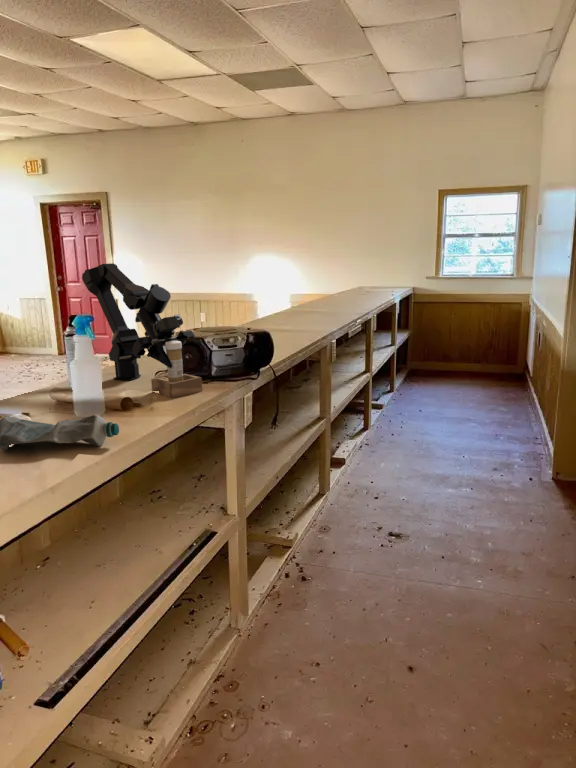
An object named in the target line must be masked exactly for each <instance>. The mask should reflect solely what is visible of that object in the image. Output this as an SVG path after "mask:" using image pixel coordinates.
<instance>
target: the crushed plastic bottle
mask: <svg viewBox="0 0 576 768" xmlns="http://www.w3.org/2000/svg"><path fill="white" fill-rule="evenodd" d="M119 433H120V426H119V424H118V423H116V422H115V423H114V422H112V421H110V422H106V421H105V418H103V417H102V416H100V415H98V414H92V415H89V416H85V417H83V418H81V419H78V420H77V419H76V420H74V419H65V420H60V421H59V420H58V422H56V424H53V423H45V422H39V421H34V420H27V419H22V418H19V417H17V416H11V415H9V416H4V417H2V418H1V419H0V450H2V451H3V450H8V448H9V445H11V444H15V445H17V444H29V443H30V444H31V443H35V442H36V443H37V442H39V443H40V442H47V443H48V442H49V443H53V444H55V443H57V444H74V443H76V442H80V441H82V442H85V443H87V444H88V445H89V444H90V445H93V446H95V447H101V446H102V445H104V443H105V441H106V438H113V437H114V436H118V435H119ZM9 449H10V448H9Z"/></svg>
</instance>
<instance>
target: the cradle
mask: <svg viewBox="0 0 576 768" xmlns="http://www.w3.org/2000/svg"><path fill="white" fill-rule="evenodd" d="M202 381H203V378H202V377H201V376H197V375H192V374H188V373H184V374H183V381H178V382H174V383H172V382H168V380H167V381H166V380H163V379H160V378H157V377H156V378H155V377H153V378H151V381H150V382H151V392H152V391H159V393H160V394H159V395H160V396H164V397H169V398H170V399H175V398H179V397H183V396H186V395H191V394H196V393H198V392H199V393H200V392H202V391H203V382H202Z"/></svg>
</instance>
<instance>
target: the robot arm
mask: <svg viewBox="0 0 576 768" xmlns="http://www.w3.org/2000/svg"><path fill="white" fill-rule="evenodd" d="M81 279H82V282H83V284H84V286H85V287H86V289H87V291H88V292H90V293H92V295H94V296H95V297H96V298H97V300H98V303H99V305H100V307H101V309H102V312H103V315H104V317H105V319H106V321H107V323H108V326H109V328H110V329H111V332H112V338H111V346H112V347H111V348H110V350H109V353H108V356H109V361H110V362H114V370H115V372H114V373H115V377H113V380H117V381H119V380H120V381H132V380H135V379H138V378H139V377H141V376H142V375H141V374H140V370H139V369H140V368H139V367H140V366H139V363H138V361H137V359H141V357H144V356H145V354H146V350H147V354H146V356H147V358H152V359H154V360H156V361H158V362H160V363H161V364H162V365H164V366H166V368H167V367H169V368H171V367H172V364H171V361H170V360H169V358H168V356H167V352H166V350H165V349H164V347H165V343H166V342H168V341H181V343H182V348H181V352H182V363H183V366H185V365H186V361H185V360H186V359H185V353H184V349H183V345H184V344H185V342H186V339H187V338H192V339H193V338H194V339H195V338H196V335H195V334H194V332H193V331H192V330H182V331H179V333H178V334H177V336H174V334H175V331H176V329H179V328H180V327H181V326H182V325H183V324H184V321H183V318H182V316H181V315H180V314H173V315H172V316H167V317H163V318H162V317H161V316H160V314H162V313H163V312H164V311H165V309H166V306H168V303H169V302H170V300H171V297H172V296H171V293H170V291H168V290H167V289H166V288H164V287H162V286H160V285H159V284H158V283H155V284H154V283H153V284H152V283H151V286H150V288H149V289H147V288H146V287H144V286H143V285H139V284H136V283H134V281H132V280H131V279H130V278H129V277H128V276H126V274H125V273H124V272H122V271H121V270H120V269H119V267H118V265H117V264H115V263H113V262H112V263H111V262H110V263H101V264H99V265H97V266H95V267H92V268H87V269H85V270H84V272H82V274H81ZM112 287H114V288H115V290H117V291H118V292H119V293H120V294H121V295H122V301H123V303H124V305H125V306H126V307H127V308H128V309H129V310H131V311H132V310H138V311H137V313H136V316H135V318H134V319H135V320H134V321H135V323H141V325H142V327H143V328H144V330H145V332H144V335H145V336H139V334H138V332H137V330H136V329H135V328H129V327H128V325H127V323H126V320H125V319H124V316H123V314H122V311H121V310H120V309H121V308H120V307H119V305H118V303H117V301H116V298H115V297H114V294H113V292H112V290H111V289H112ZM194 339H193V340H194Z"/></svg>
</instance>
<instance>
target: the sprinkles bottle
mask: <svg viewBox="0 0 576 768" xmlns="http://www.w3.org/2000/svg"><path fill="white" fill-rule="evenodd" d="M164 347H165V353H166V354H167V356H168V358H169V360H170V361H171V364H172V367H171V368H169V367H167V366H166V369H167V371H166V372H167V381H168V382H172V383H174V382H178V381H183V373H184V365H183V363H182V352H181V348H182V343H181V341H168V342H166V343H165V346H164Z"/></svg>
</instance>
